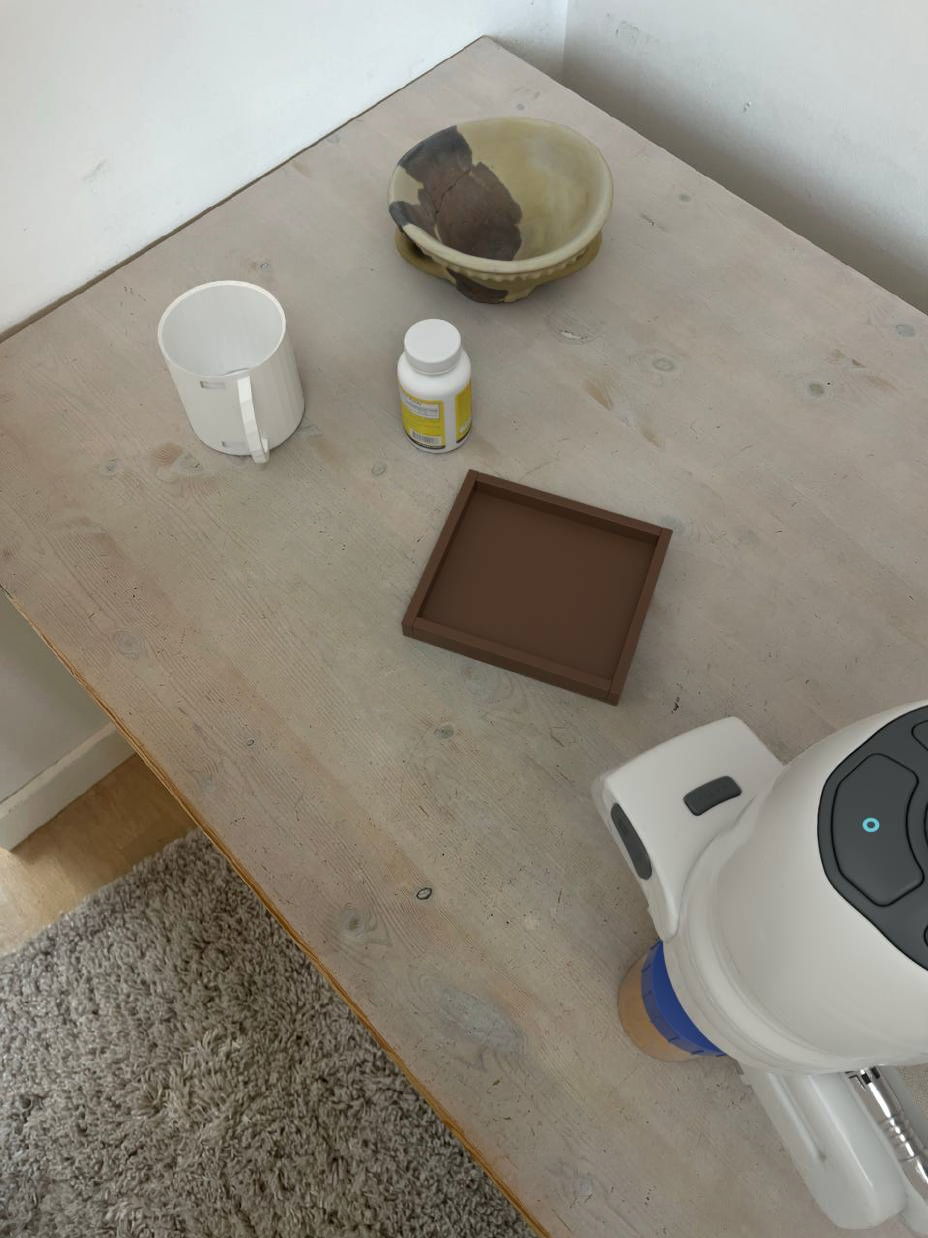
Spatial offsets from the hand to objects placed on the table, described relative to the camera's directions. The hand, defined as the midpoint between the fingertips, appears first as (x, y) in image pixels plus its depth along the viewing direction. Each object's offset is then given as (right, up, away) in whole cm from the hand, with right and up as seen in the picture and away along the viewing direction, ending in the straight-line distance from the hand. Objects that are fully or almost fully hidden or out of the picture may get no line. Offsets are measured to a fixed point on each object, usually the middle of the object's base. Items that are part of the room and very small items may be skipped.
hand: (706, 985), depth 48 cm
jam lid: (0, -1, +1) cm, 1 cm away
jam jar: (0, -5, +9) cm, 11 cm away
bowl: (-9, +48, +36) cm, 60 cm away
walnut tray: (-7, +20, +22) cm, 31 cm away
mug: (-29, +33, +29) cm, 53 cm away
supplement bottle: (-14, +33, +29) cm, 46 cm away
